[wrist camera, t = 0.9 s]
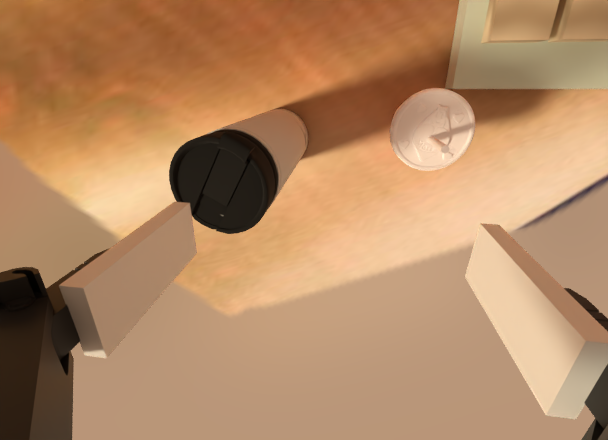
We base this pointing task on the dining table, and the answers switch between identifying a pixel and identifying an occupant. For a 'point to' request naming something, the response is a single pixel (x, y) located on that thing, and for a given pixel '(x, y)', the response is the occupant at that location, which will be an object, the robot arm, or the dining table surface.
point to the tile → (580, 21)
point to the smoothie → (432, 129)
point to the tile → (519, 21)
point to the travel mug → (238, 169)
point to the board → (520, 59)
